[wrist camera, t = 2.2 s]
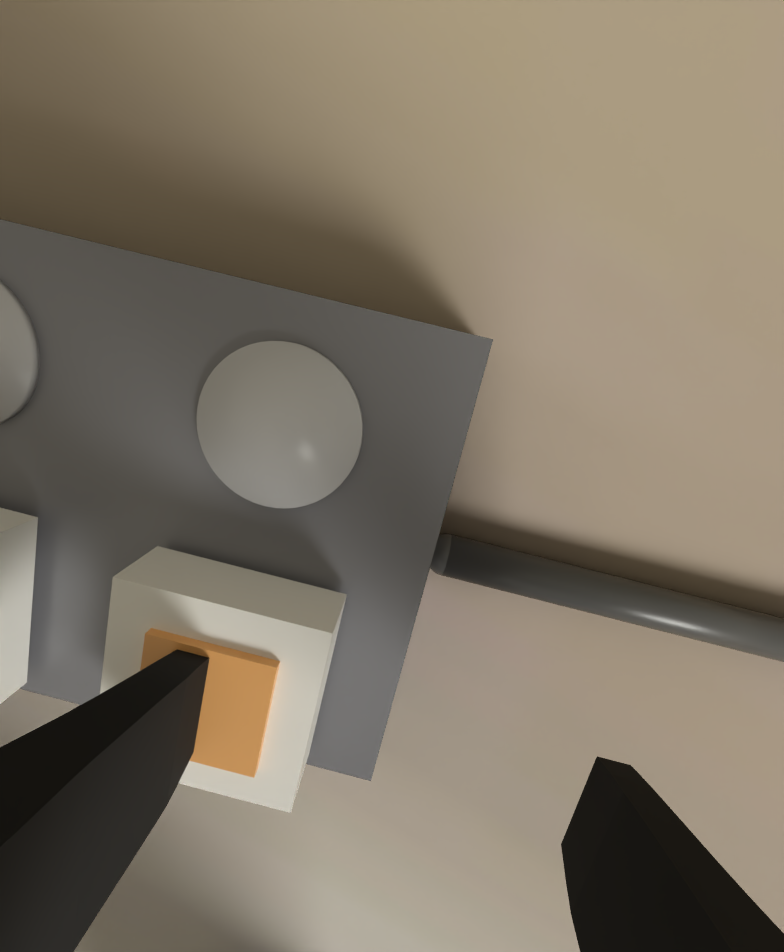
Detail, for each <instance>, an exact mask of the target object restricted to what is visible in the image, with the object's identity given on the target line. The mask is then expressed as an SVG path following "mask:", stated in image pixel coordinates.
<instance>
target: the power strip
mask: <svg viewBox="0 0 784 952" xmlns="http://www.w3.org/2000/svg"><path fill="white" fill-rule="evenodd" d="M492 341H493V339H489V338H485V337H481V336H477V335H473V334H469V333H465V332H461V331H456V330H452V329H448V328H444V327H440V326H436V325H432V324H428V323H424V322H420V321H415V320H411V319H407V318H403V317H399V316H395V315H391V314H387V313H383V312H379V311H374V310H370V309H366V308H362V307H358V306H354V305H350V304H346V303H342V302H338V301H333V300H329V299H325V298H321V297H317V296H313V295H309V294H305V293H301V292H297V291H292V290H288V289H284V288H280V287H276V286H272V285H268V284H264V283H260V282H256V281H251V280H247V279H243V278H239V277H235V276H231V275H227V274H223V273H219V272H215V271H210V270H206V269H202V268H198V267H194V266H190V265H186V264H182V263H178V262H174V261H169V260H165V259H161V258H157V257H153V256H149V255H145V254H141V253H137V252H133V251H128V250H124V249H120V248H116V247H112V246H108V245H104V244H100V243H96V242H92V241H87V240H83V239H79V238H75V237H71V236H67V235H63V234H59V233H55V232H51V231H46V230H42V229H38V228H34V227H30V226H26V225H22V224H18V223H14V222H10V221H5V220H1V219H0V508H4V509H8V510H12V511H16V512H19V513H23V514H27V515H31V516H35V517H38V526H37V540H36V555H35V570H34V584H33V599H32V613H31V628H30V643H29V657H28V672H27V683H26V684H25V685H23V686H22V687H21V688H20V689H23V690H27V691H31V692H34V693H38V694H42V695H46V696H50V697H53V698H57V699H61V700H65V701H69V702H72V703H76V704H80V705H82V704H83V703H85V702H87V701H89V700H91V699H92V698H94V697H96V696H98V695H99V694H100V688H101V679H102V670H103V661H104V652H105V643H106V634H107V625H108V616H109V607H110V597H111V588H112V579H113V576H115V575H116V574H118V573H119V572H121V571H122V570H124V569H125V568H126V567H128V566H129V565H131V564H132V563H134V562H135V561H137V560H138V559H139V558H141V557H142V556H144V555H145V554H147V553H148V552H150V551H151V550H153V549H154V548H155V547H157V546H160V547H163V548H167V549H171V550H175V551H179V552H183V553H187V554H191V555H195V556H199V557H203V558H207V559H210V560H214V561H218V562H222V563H226V564H230V565H234V566H238V567H242V568H246V569H250V570H253V571H257V572H261V573H265V574H269V575H273V576H277V577H281V578H285V579H289V580H293V581H296V582H300V583H304V584H308V585H312V586H316V587H320V588H324V589H328V590H332V591H336V592H340V593H343V594H347V596H346V600H345V604H344V608H343V613H342V617H341V621H340V625H339V630H338V634H337V638H336V642H335V646H334V651H333V655H332V659H331V663H330V668H329V672H328V676H327V680H326V684H325V689H324V693H323V697H322V701H321V706H320V710H319V714H318V718H317V723H316V727H315V731H314V735H313V739H312V744H311V748H310V752H309V756H308V759H307V762H306V764H308V765H312V766H316V767H320V768H323V769H327V770H331V771H335V772H339V773H342V774H346V775H350V776H354V777H358V778H362V779H365V780H369V781H371V778H372V774H373V771H374V767H375V764H376V760H377V756H378V753H379V749H380V746H381V742H382V738H383V735H384V731H385V728H386V724H387V720H388V717H389V713H390V710H391V706H392V702H393V699H394V695H395V691H396V688H397V684H398V681H399V677H400V673H401V670H402V666H403V663H404V659H405V655H406V652H407V648H408V645H409V641H410V637H411V634H412V630H413V627H414V623H415V619H416V616H417V612H418V608H419V605H420V601H421V598H422V594H423V590H424V587H425V583H426V580H427V576H428V572H429V569H430V568H431V569H432V570H433V571H434V572H435V573H437V574H440V575H443V576H447V577H451V578H455V579H459V580H463V581H467V582H471V583H475V584H478V585H482V586H486V587H490V588H494V589H498V590H502V591H506V592H510V593H514V594H518V595H522V596H526V597H530V598H534V599H538V600H541V601H545V602H549V603H553V604H557V605H561V606H565V607H569V608H573V609H577V610H581V611H585V612H589V613H593V614H597V615H601V616H604V617H608V618H612V619H616V620H620V621H624V622H628V623H632V624H636V625H640V626H644V627H648V628H652V629H656V630H660V631H664V632H668V633H671V634H675V635H679V636H683V637H687V638H691V639H695V640H699V641H703V642H707V643H711V644H715V645H719V646H723V647H727V648H731V649H734V650H738V651H742V652H746V653H750V654H754V655H758V656H762V657H766V658H770V659H774V660H778V661H782V662H784V619H783V618H779V617H775V616H771V615H768V614H764V613H760V612H756V611H752V610H748V609H744V608H740V607H736V606H732V605H728V604H724V603H720V602H716V601H712V600H708V599H704V598H700V597H696V596H692V595H688V594H684V593H680V592H676V591H672V590H668V589H664V588H660V587H656V586H653V585H649V584H645V583H641V582H637V581H633V580H629V579H625V578H621V577H617V576H613V575H609V574H605V573H601V572H597V571H593V570H589V569H585V568H581V567H577V566H573V565H569V564H565V563H561V562H557V561H553V560H549V559H545V558H541V557H538V556H534V555H530V554H526V553H522V552H518V551H514V550H510V549H506V548H502V547H498V546H494V545H490V544H486V543H482V542H478V541H474V540H470V539H466V538H462V537H458V536H454V535H450V534H441V535H439V533H440V529H441V525H442V522H443V518H444V515H445V511H446V507H447V504H448V500H449V497H450V493H451V489H452V486H453V482H454V479H455V475H456V471H457V468H458V464H459V460H460V457H461V453H462V450H463V446H464V442H465V439H466V435H467V432H468V428H469V424H470V421H471V417H472V414H473V410H474V406H475V403H476V399H477V396H478V392H479V388H480V385H481V381H482V377H483V374H484V370H485V367H486V363H487V359H488V356H489V352H490V349H491V345H492Z"/></svg>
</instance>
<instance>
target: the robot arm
mask: <svg viewBox="0 0 784 952" xmlns="http://www.w3.org/2000/svg"><path fill="white" fill-rule="evenodd" d="M208 664H209V657H205V656H201V655H197V654H193V653H189V652H185V651H182V650H178V649H177V650H175V651H173V652H172V653H170V654H168V655H166V656H164V657H163V658H161V659H159V660H158V661H156V662H154V663H152V664H151V665H149V666H147V667H146V668H144V669H142V670H141V671H139V672H137V673H136V674H134V675H132V676H130V677H129V678H127V679H125V680H124V681H122V682H120V683H119V684H117V685H115V686H113V687H112V688H110V689H108V690H107V691H105V692H103V693H101V694H99V695H98V696H96V697H94V698H92V699H91V700H89V701H87V702H85V703H83V704H82V705H80V706H78V707H76V708H75V709H73V710H71V711H69V712H67V713H66V714H64V715H62V716H60V717H58V718H56V719H55V720H53V721H51V722H49V723H47V724H45V725H43V726H41V727H39V728H37V729H35V730H33V731H31V732H29V733H27V734H25V735H24V736H22V737H20V738H18V739H16V740H14V741H12V742H10V743H8V744H6V745H4V746H2V747H0V952H73V951H74V950H75V948H76V947H77V945H78V944H79V942H80V940H81V939H82V937H83V936H84V934H85V933H86V931H87V930H88V928H89V926H90V925H91V923H92V922H93V920H94V919H95V917H96V916H97V914H98V912H99V911H100V909H101V908H102V906H103V905H104V903H105V902H106V900H107V898H108V897H109V895H110V894H111V892H112V891H113V889H114V887H115V886H116V884H117V883H118V881H119V880H120V878H121V877H122V875H123V874H124V872H125V870H126V869H127V867H128V866H129V864H130V863H131V861H132V860H133V858H134V856H135V855H136V853H137V852H138V850H139V849H140V847H141V845H142V844H143V842H144V841H145V839H146V838H147V836H148V834H149V833H150V831H151V830H152V828H153V827H154V825H155V823H156V822H157V820H158V819H159V817H160V815H161V814H162V812H163V811H164V809H165V807H166V806H167V804H168V802H169V800H170V798H171V796H172V794H173V792H174V790H175V788H176V787H177V785H178V783H179V781H180V779H181V777H182V775H183V773H184V771H185V769H186V767H187V765H188V763H189V761H190V759H191V757H192V755H193V752H194V747H195V741H196V735H197V729H198V723H199V717H200V711H201V706H202V700H203V694H204V688H205V682H206V676H207V670H208ZM561 846H562V854H563V862H564V869H565V877H566V884H567V891H568V897H569V903H570V910H571V915H572V919H573V924H574V928H575V932H576V936H577V940H578V944H579V948H580V952H784V933H783V932H782V931H781V930H780V929H779V928H778V927H777V926H776V925H775V924H774V923H773V922H772V921H771V920H770V919H769V917H768V916H767V915H766V914H765V913H764V912H763V911H762V910H761V909H760V908H759V907H758V906H757V905H756V903H755V902H754V901H753V900H752V899H751V898H750V897H749V896H748V895H747V894H746V893H745V891H744V890H743V889H742V888H741V887H740V886H739V885H738V884H737V883H736V882H735V880H734V879H733V878H732V877H731V876H730V875H729V874H728V873H727V872H726V870H725V869H724V868H723V867H722V866H721V865H720V864H719V863H718V862H717V860H716V859H715V858H714V857H713V856H712V855H711V854H710V853H709V851H708V850H707V849H706V848H705V847H704V846H703V845H702V844H701V842H700V841H699V840H698V839H697V838H696V837H695V836H694V835H693V833H692V832H691V831H690V830H689V829H688V828H687V827H686V825H685V824H684V823H683V822H682V821H681V820H680V819H679V818H678V816H677V815H676V814H675V813H674V812H673V811H672V810H671V809H670V807H669V806H668V805H667V804H666V803H665V802H664V801H663V800H662V798H661V797H660V796H659V795H658V794H657V793H656V792H655V791H654V790H653V788H652V787H651V786H650V785H649V784H648V783H647V782H646V781H645V780H644V779H643V778H642V777H641V776H640V774H639V773H638V772H637V771H636V770H635V769H634V768H633V767H632V766H631V765H628V764H624V763H620V762H616V761H612V760H608V759H605V758H601V757H597V758H596V760H595V763H594V765H593V768H592V770H591V772H590V775H589V777H588V780H587V782H586V785H585V787H584V790H583V792H582V795H581V797H580V799H579V802H578V804H577V807H576V809H575V812H574V814H573V817H572V819H571V822H570V824H569V826H568V829H567V831H566V834H565V836H564V839H563V841H562V844H561Z"/></svg>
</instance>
